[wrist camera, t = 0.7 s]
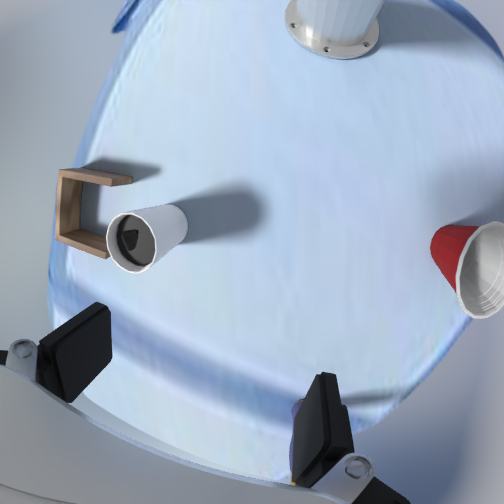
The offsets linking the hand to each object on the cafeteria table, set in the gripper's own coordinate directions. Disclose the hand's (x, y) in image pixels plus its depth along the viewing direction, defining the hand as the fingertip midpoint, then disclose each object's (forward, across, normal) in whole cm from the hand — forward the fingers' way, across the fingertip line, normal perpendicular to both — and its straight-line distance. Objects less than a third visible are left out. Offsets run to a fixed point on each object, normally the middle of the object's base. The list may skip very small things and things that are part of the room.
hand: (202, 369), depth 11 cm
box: (+26, +26, +1) cm, 36 cm away
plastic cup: (+25, -25, -7) cm, 36 cm away
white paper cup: (+26, +13, +1) cm, 29 cm away
